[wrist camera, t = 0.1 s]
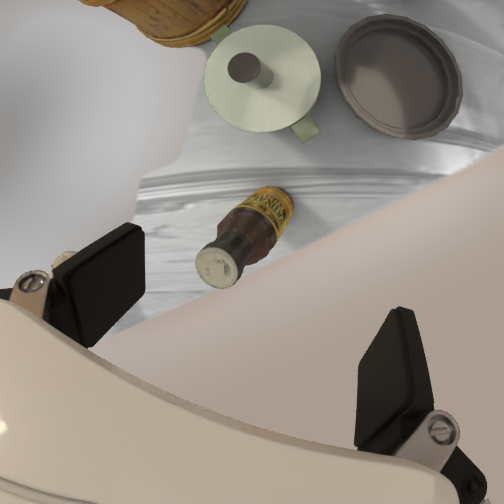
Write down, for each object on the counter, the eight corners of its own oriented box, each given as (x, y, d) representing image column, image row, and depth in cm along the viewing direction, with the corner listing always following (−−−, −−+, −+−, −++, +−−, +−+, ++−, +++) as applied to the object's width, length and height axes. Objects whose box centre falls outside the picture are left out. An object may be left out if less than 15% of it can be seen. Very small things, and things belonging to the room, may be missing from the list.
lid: (270, 8, 22) (253, -15, 17) (345, 89, 25) (348, 79, 19) (188, 76, 28) (156, 70, 23) (253, 154, 31) (233, 163, 25)
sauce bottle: (302, 198, 39) (272, 265, 22) (281, 233, 42) (239, 315, 25) (262, 175, 39) (200, 222, 22) (243, 210, 43) (177, 277, 26)
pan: (399, 9, 23) (406, -3, 19) (469, 105, 26) (483, 104, 22) (310, 61, 31) (307, 53, 27) (383, 158, 34) (389, 163, 30)
